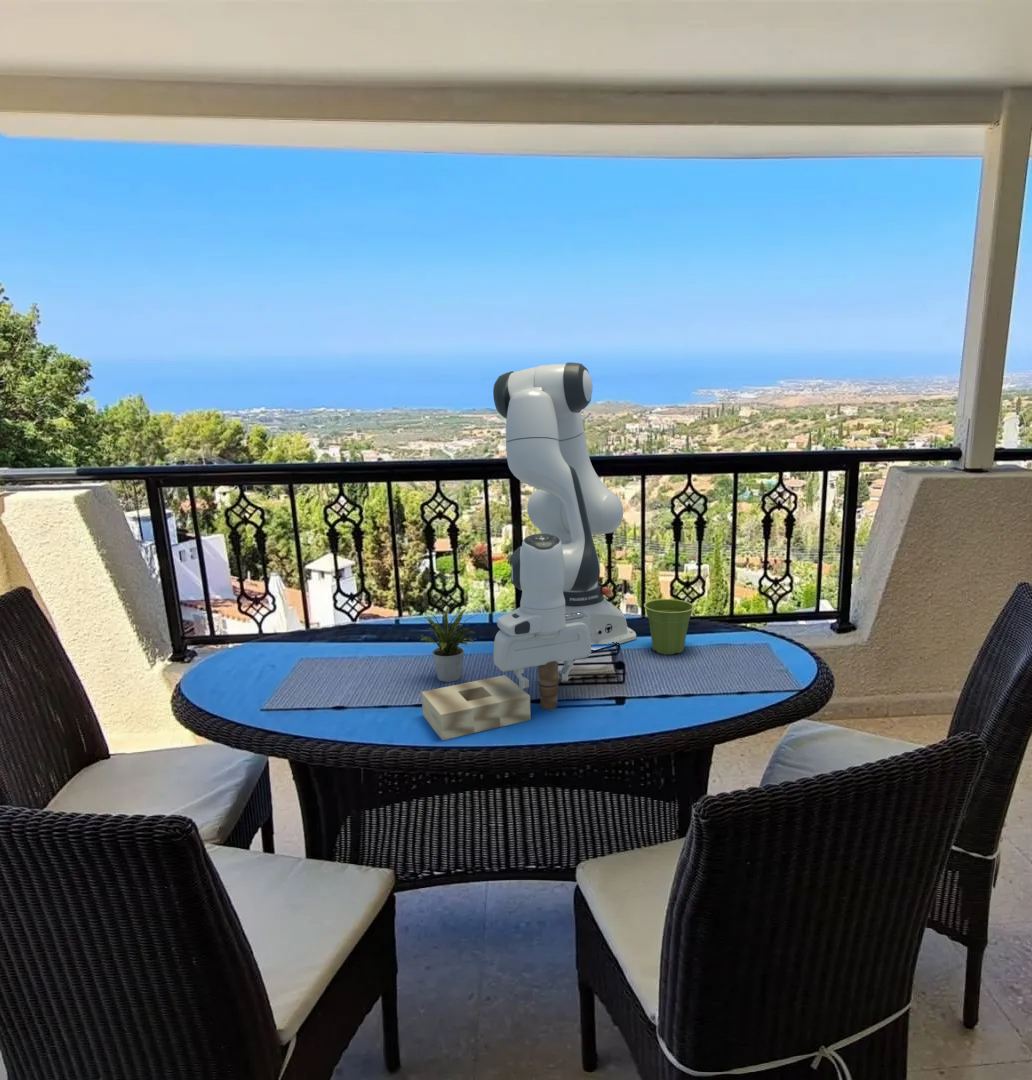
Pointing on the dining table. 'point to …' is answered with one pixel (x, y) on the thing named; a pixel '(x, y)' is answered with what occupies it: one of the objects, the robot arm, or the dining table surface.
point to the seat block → (475, 706)
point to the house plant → (448, 647)
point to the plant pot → (668, 624)
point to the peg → (548, 685)
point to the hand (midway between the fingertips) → (543, 684)
